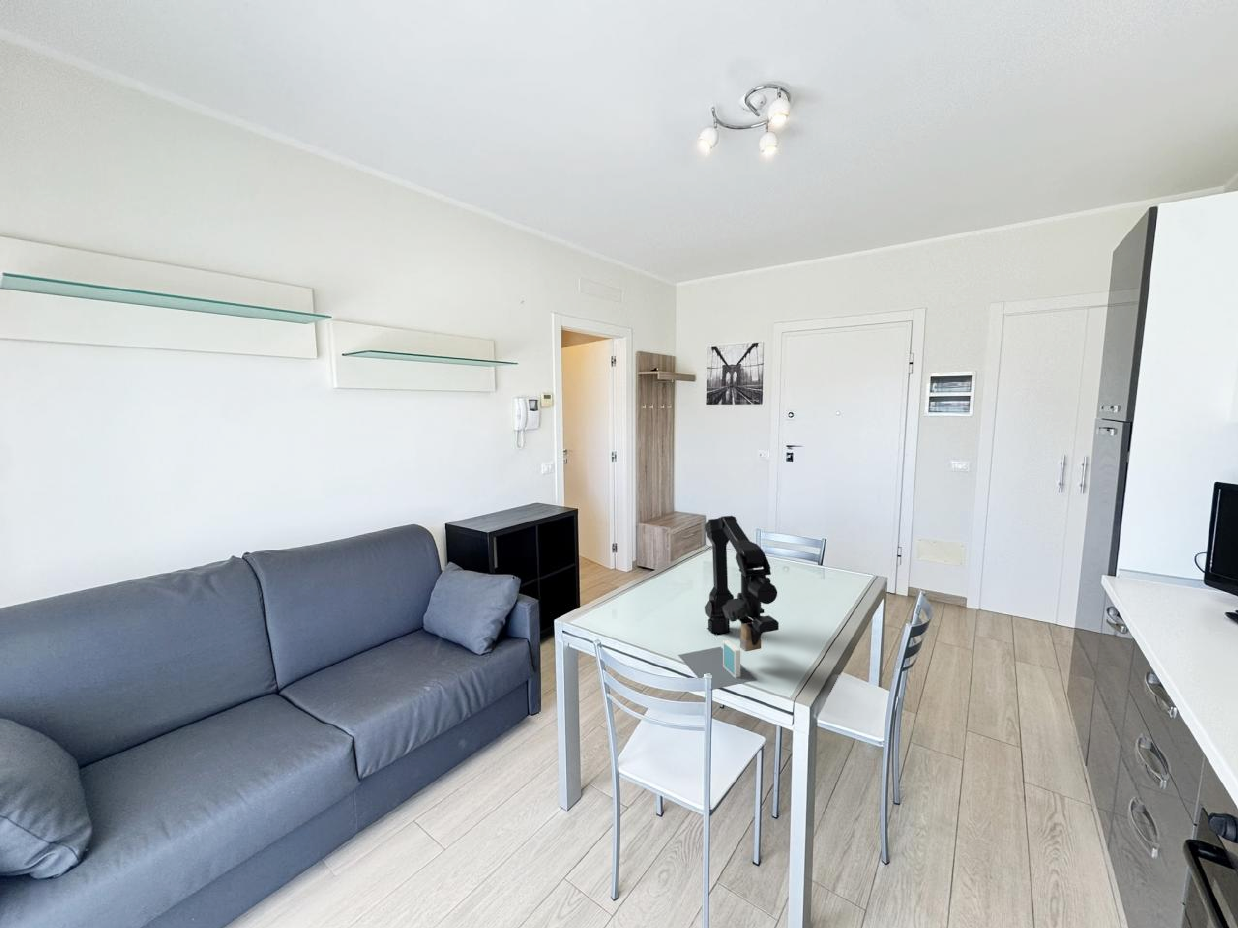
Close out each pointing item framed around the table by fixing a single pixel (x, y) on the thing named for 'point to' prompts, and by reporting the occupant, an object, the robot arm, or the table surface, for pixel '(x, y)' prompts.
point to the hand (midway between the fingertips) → (751, 642)
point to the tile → (731, 658)
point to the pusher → (748, 639)
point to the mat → (714, 667)
